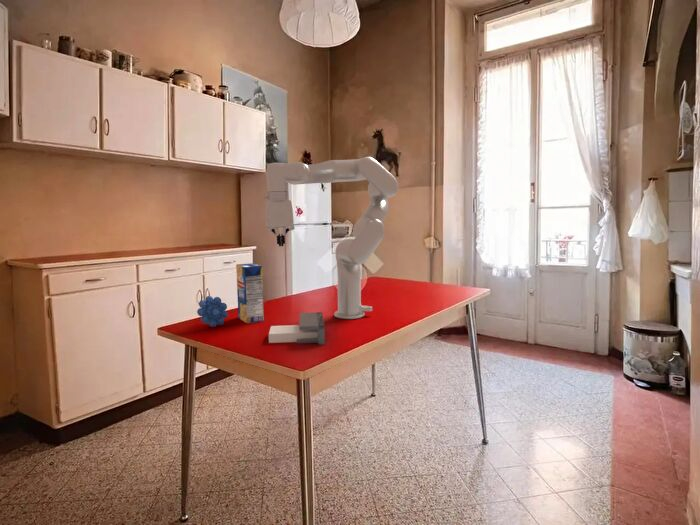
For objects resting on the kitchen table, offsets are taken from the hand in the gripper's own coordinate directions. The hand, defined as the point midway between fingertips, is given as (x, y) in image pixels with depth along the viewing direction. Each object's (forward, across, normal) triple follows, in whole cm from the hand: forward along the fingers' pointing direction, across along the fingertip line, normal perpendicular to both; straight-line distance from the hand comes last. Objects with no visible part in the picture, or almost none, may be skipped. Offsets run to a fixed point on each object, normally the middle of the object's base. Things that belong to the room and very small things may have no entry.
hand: (281, 245), depth 149 cm
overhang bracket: (+30, +9, -20) cm, 37 cm away
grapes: (+30, -26, -2) cm, 39 cm away
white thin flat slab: (+30, +3, -20) cm, 36 cm away
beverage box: (+30, -14, +8) cm, 34 cm away
